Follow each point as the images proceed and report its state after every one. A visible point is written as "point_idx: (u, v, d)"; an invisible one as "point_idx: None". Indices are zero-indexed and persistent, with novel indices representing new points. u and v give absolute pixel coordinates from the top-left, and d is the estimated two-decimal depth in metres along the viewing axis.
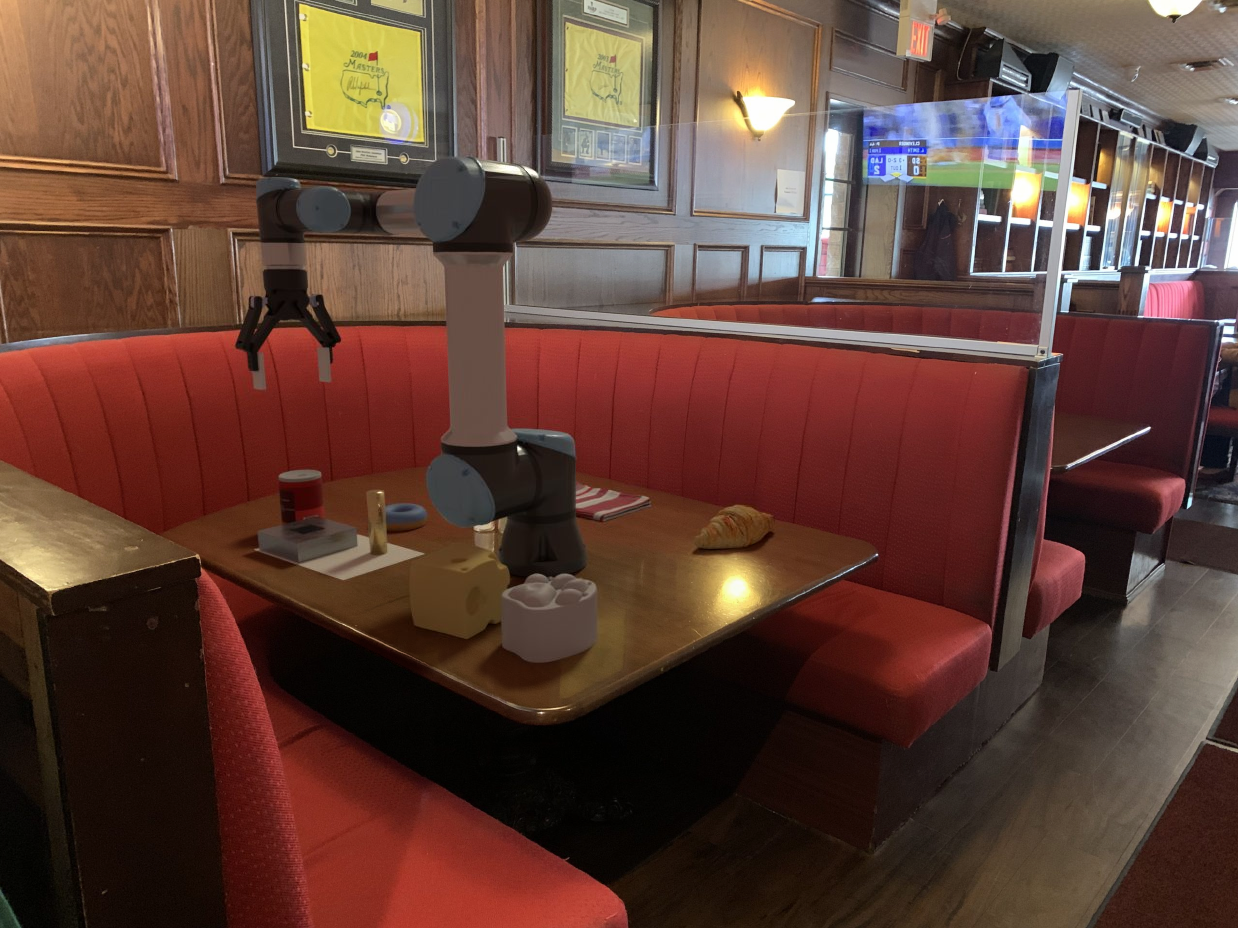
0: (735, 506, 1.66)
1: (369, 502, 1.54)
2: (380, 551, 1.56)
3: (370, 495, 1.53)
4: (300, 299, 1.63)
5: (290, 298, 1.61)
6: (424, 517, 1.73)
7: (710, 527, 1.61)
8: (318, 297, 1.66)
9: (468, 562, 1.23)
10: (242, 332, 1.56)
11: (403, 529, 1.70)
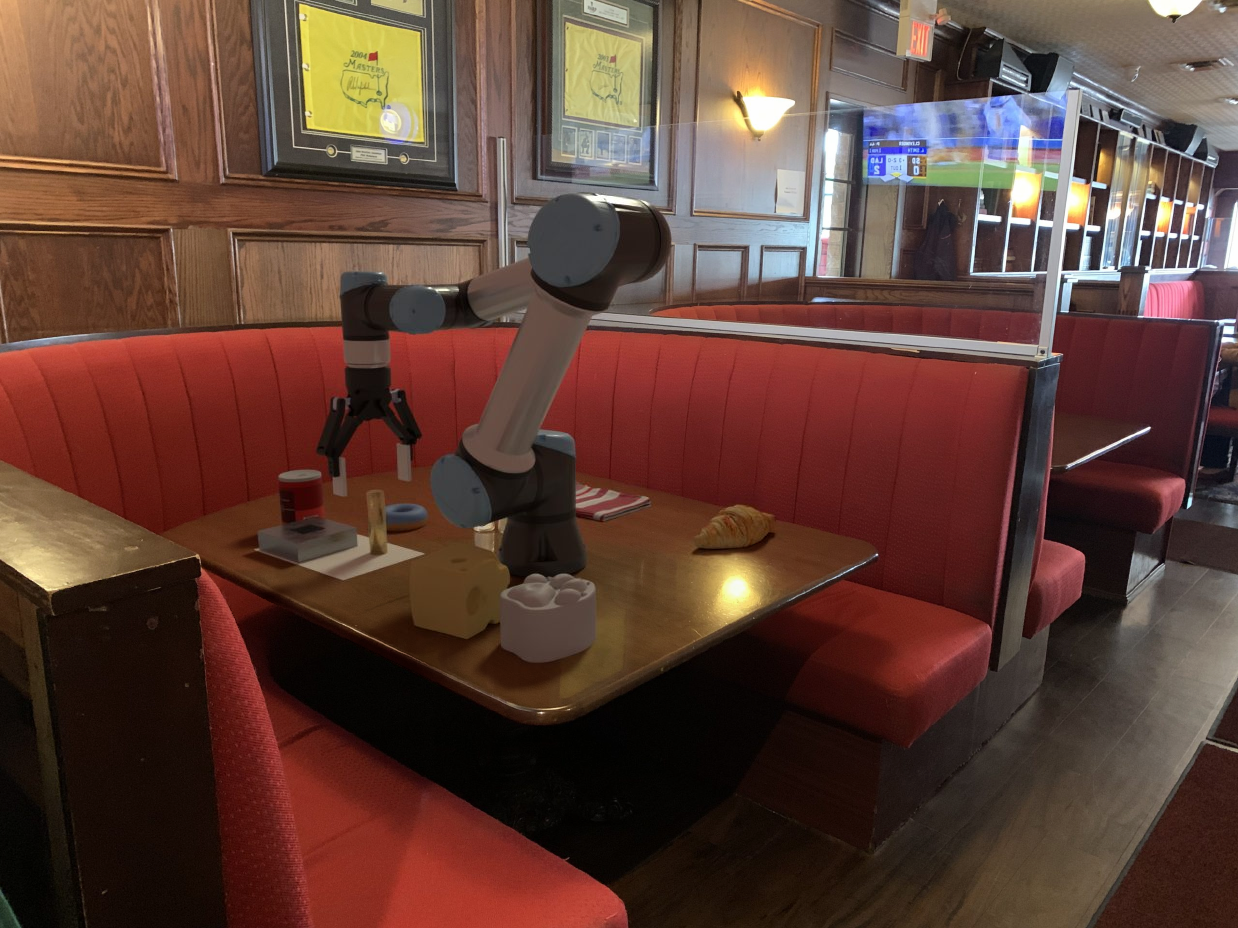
0: (736, 506, 1.65)
1: (369, 502, 1.54)
2: (380, 551, 1.56)
3: (370, 495, 1.53)
4: (382, 397, 1.52)
5: (373, 397, 1.51)
6: (425, 517, 1.73)
7: (710, 527, 1.61)
8: (400, 393, 1.55)
9: (468, 562, 1.23)
10: (323, 437, 1.46)
11: (404, 529, 1.70)
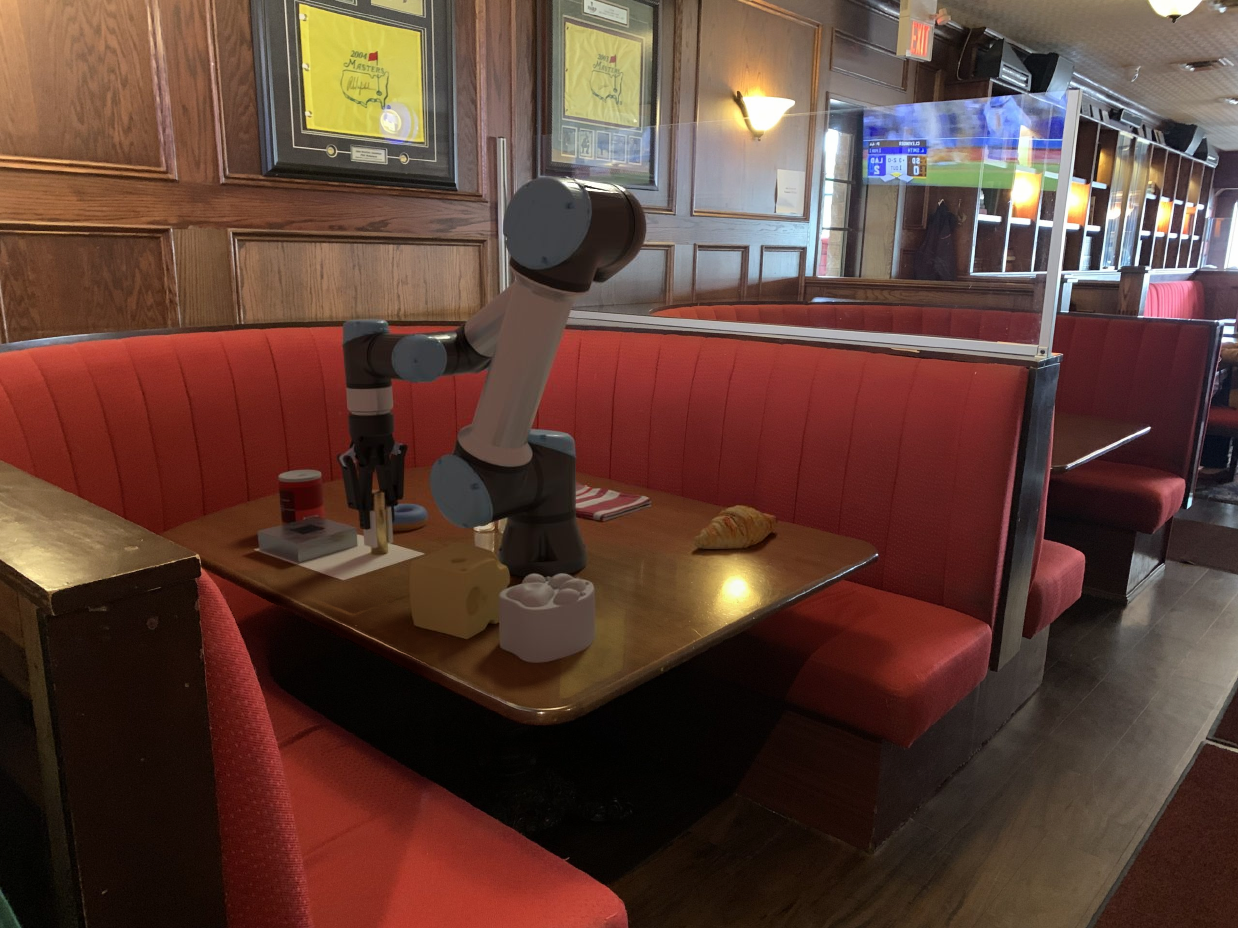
0: (736, 507, 1.65)
1: None
2: (380, 551, 1.56)
3: None
4: (387, 439, 1.54)
5: (376, 443, 1.52)
6: (425, 517, 1.73)
7: (710, 527, 1.61)
8: (403, 446, 1.57)
9: (468, 562, 1.23)
10: (348, 493, 1.51)
11: (404, 529, 1.70)
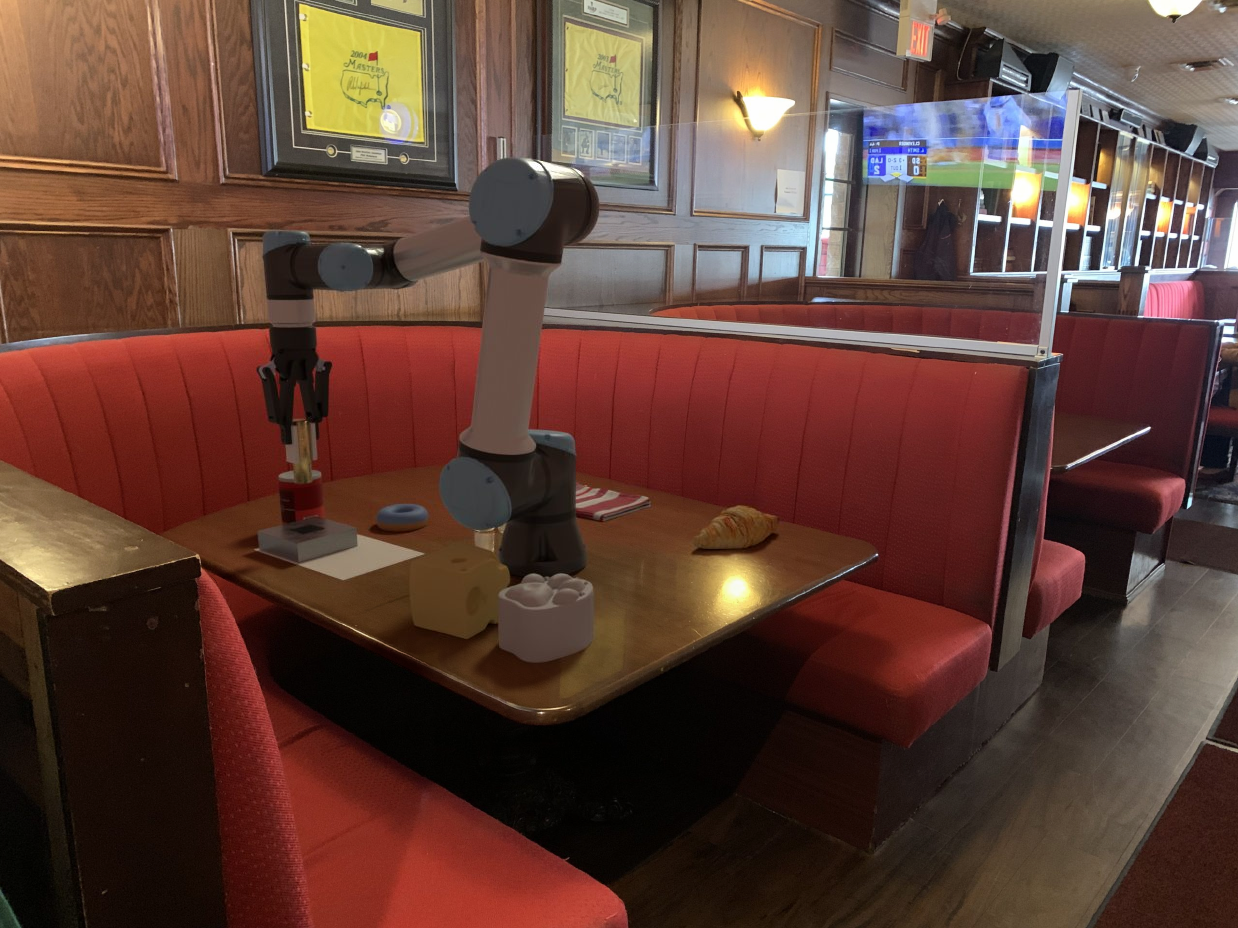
0: (737, 507, 1.65)
1: None
2: (303, 480, 1.56)
3: (293, 423, 1.53)
4: (309, 354, 1.53)
5: (298, 357, 1.52)
6: (425, 518, 1.73)
7: (710, 527, 1.61)
8: (327, 363, 1.56)
9: (468, 562, 1.23)
10: (268, 407, 1.50)
11: (404, 530, 1.70)
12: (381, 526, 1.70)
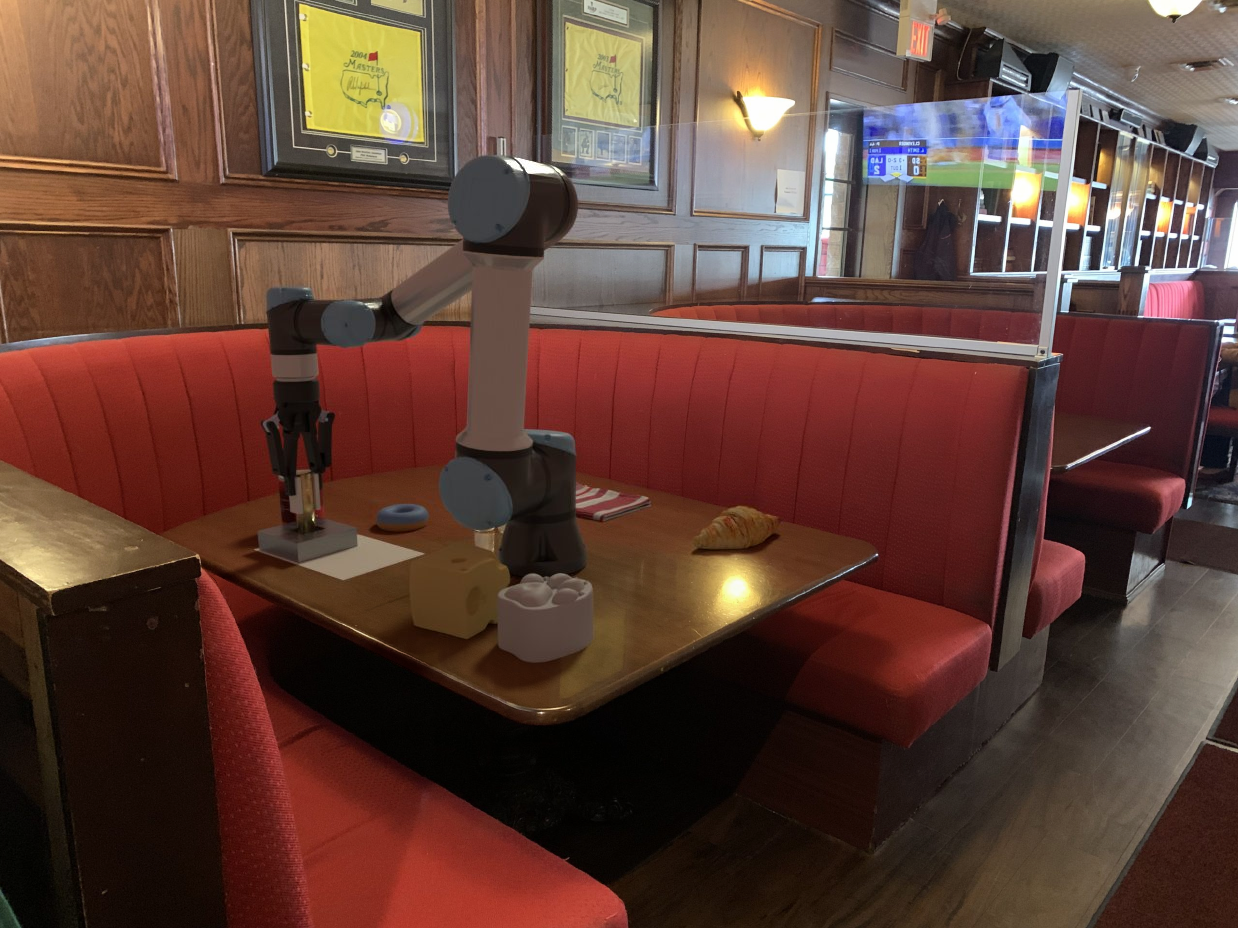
0: (738, 507, 1.65)
1: None
2: (307, 531, 1.58)
3: (297, 476, 1.55)
4: (313, 406, 1.55)
5: (301, 410, 1.54)
6: (425, 518, 1.73)
7: (710, 527, 1.61)
8: (330, 414, 1.58)
9: (468, 562, 1.23)
10: (272, 459, 1.52)
11: (404, 530, 1.70)
12: (381, 526, 1.70)
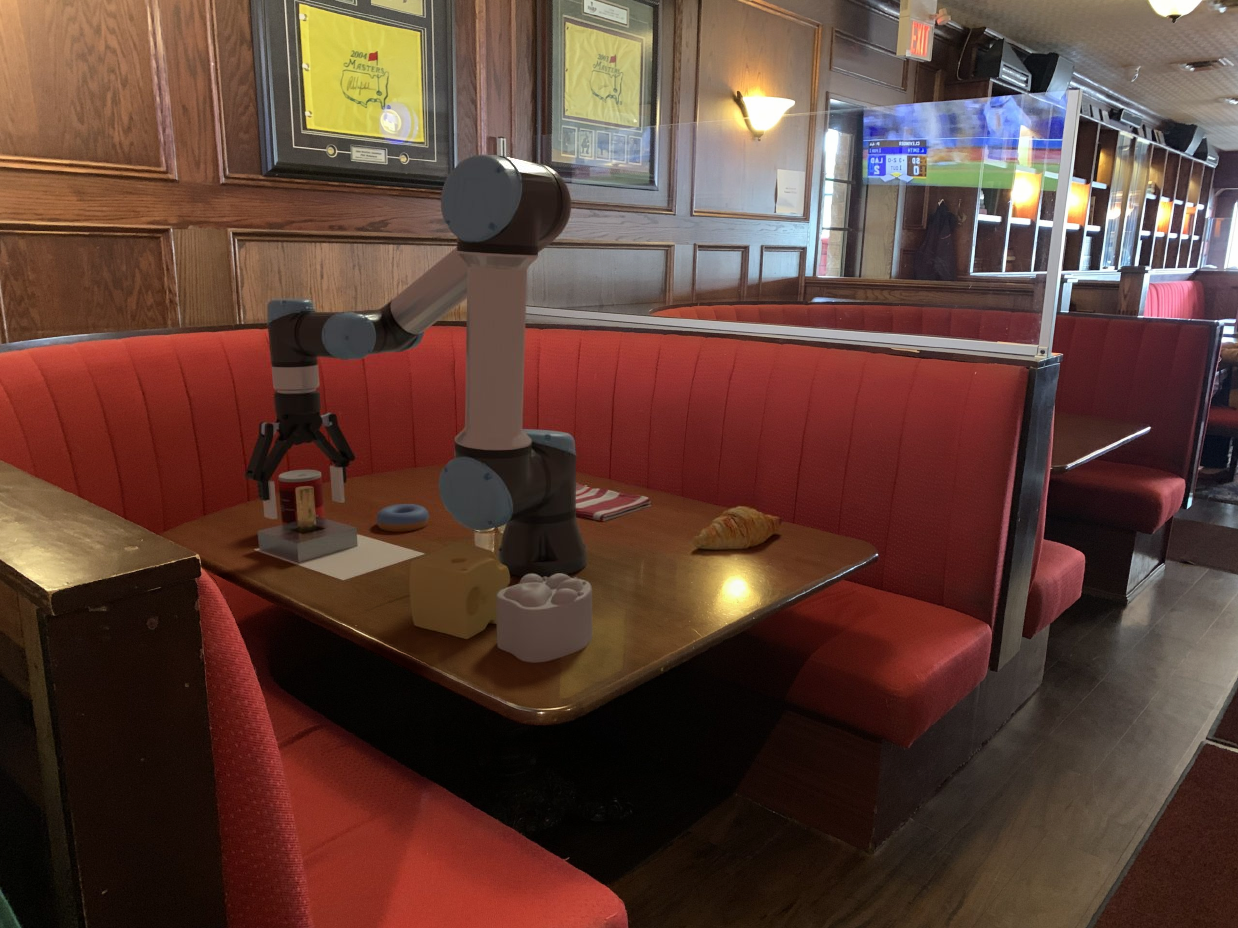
0: (738, 507, 1.65)
1: (298, 498, 1.56)
2: None
3: (299, 491, 1.56)
4: (313, 421, 1.56)
5: (302, 421, 1.54)
6: (426, 518, 1.73)
7: (710, 528, 1.61)
8: (331, 417, 1.58)
9: (468, 562, 1.23)
10: (252, 461, 1.49)
11: (405, 530, 1.70)
12: (381, 526, 1.70)
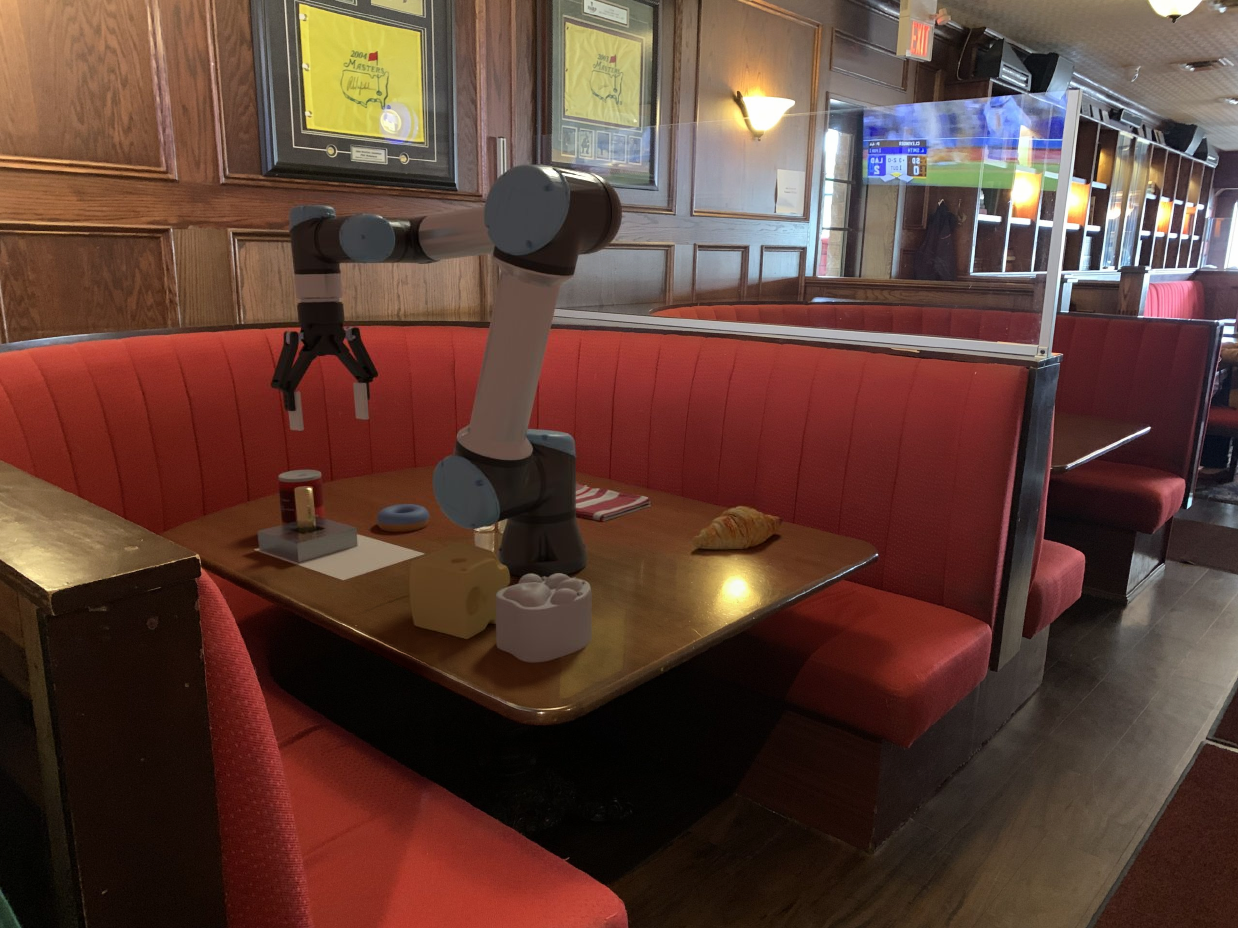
0: (738, 507, 1.65)
1: (297, 498, 1.56)
2: None
3: (298, 491, 1.56)
4: (336, 333, 1.54)
5: (326, 332, 1.52)
6: (426, 518, 1.73)
7: (710, 528, 1.61)
8: (354, 330, 1.57)
9: (468, 562, 1.23)
10: (277, 370, 1.47)
11: (405, 530, 1.69)
12: (382, 526, 1.70)
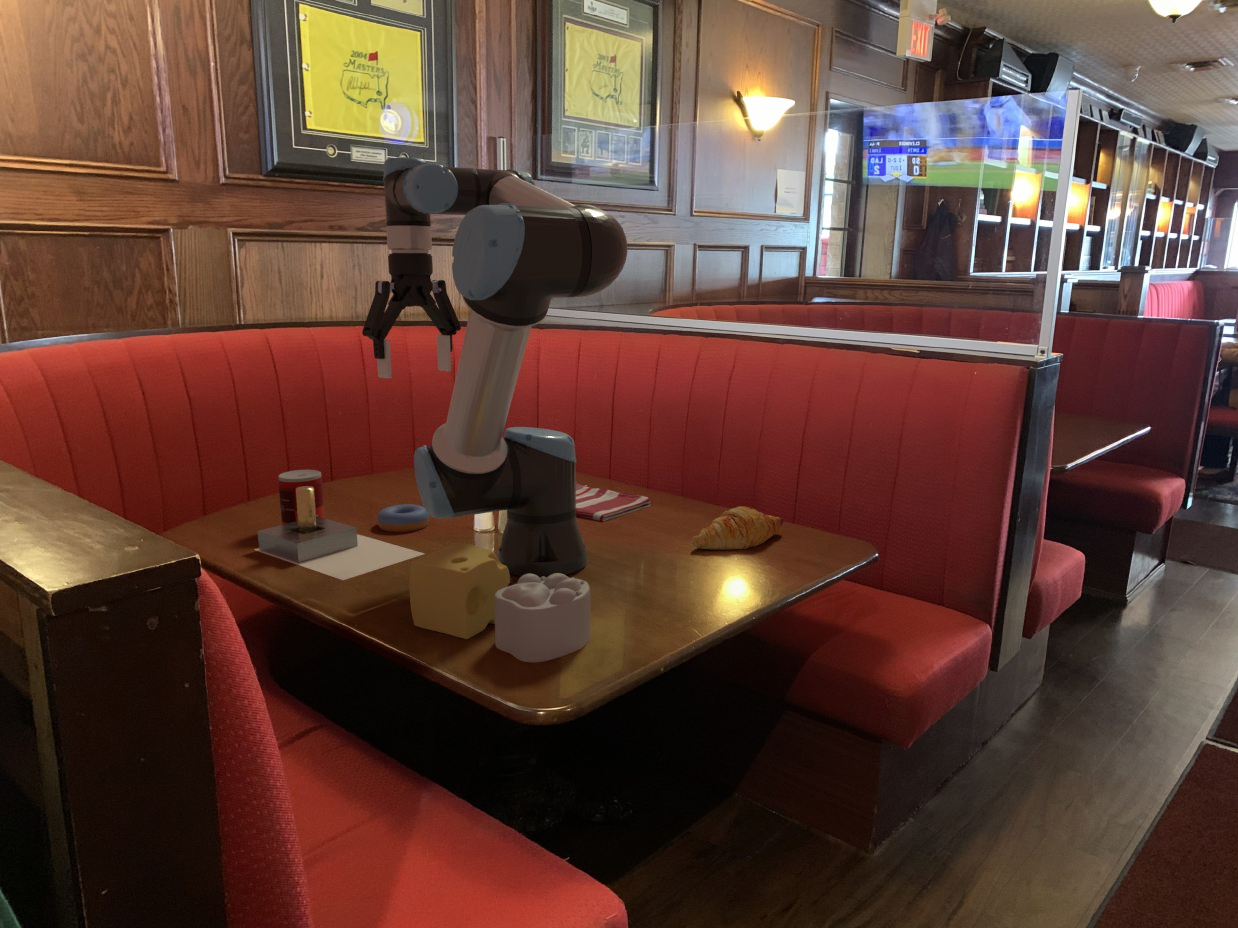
0: (738, 507, 1.64)
1: (298, 498, 1.56)
2: None
3: (299, 491, 1.56)
4: (424, 285, 1.57)
5: (415, 283, 1.56)
6: (426, 518, 1.72)
7: (710, 528, 1.61)
8: (441, 283, 1.60)
9: (468, 562, 1.23)
10: (369, 318, 1.51)
11: (405, 530, 1.69)
12: (382, 527, 1.70)
